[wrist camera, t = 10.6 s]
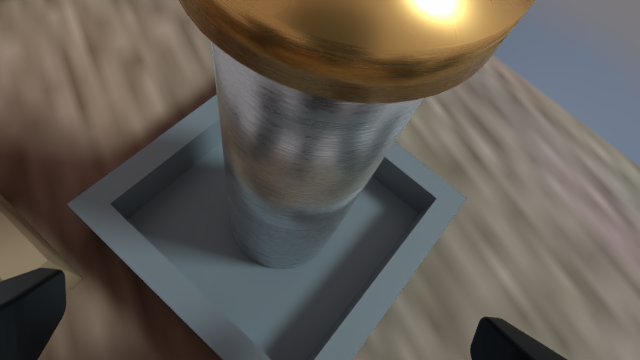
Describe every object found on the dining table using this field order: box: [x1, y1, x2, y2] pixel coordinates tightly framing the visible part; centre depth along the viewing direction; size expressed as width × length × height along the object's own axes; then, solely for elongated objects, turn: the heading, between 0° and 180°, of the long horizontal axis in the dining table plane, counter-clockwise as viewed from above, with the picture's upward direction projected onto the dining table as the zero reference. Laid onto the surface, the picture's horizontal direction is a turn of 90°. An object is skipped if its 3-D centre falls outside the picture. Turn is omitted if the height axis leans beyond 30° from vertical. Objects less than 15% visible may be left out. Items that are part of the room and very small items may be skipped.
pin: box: [179, 0, 535, 269], centre depth 11 cm, size 5×5×13 cm
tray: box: [67, 94, 467, 360], centre depth 16 cm, size 11×11×2 cm
